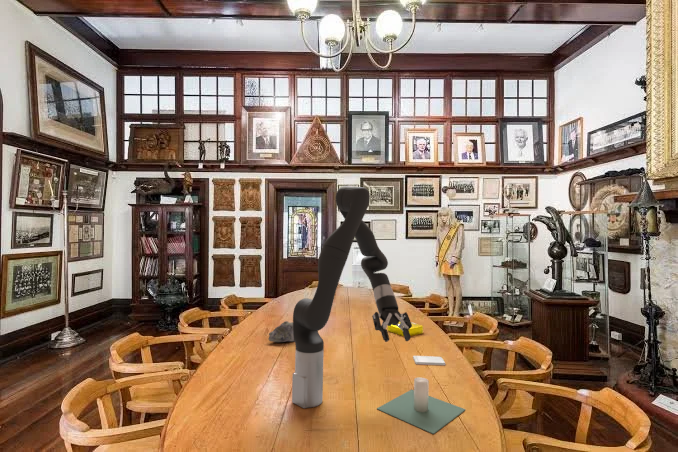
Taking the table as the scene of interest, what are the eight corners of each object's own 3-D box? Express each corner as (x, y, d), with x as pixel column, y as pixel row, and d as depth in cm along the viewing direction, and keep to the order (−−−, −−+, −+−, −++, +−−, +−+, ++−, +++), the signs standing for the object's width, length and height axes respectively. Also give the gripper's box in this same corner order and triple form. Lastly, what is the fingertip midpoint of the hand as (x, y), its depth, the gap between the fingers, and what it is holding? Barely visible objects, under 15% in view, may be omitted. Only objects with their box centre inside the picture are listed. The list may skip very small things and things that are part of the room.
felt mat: (433, 434, 105) (433, 433, 105) (376, 409, 119) (376, 408, 119) (465, 410, 119) (465, 409, 119) (411, 390, 133) (411, 389, 133)
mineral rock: (267, 344, 181) (268, 323, 181) (272, 337, 192) (272, 318, 192) (294, 345, 181) (294, 324, 181) (297, 338, 192) (297, 318, 192)
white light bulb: (423, 413, 116) (423, 384, 116) (410, 408, 119) (411, 380, 119) (430, 408, 119) (431, 380, 119) (418, 403, 122) (419, 376, 122)
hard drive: (441, 356, 166) (412, 355, 167) (445, 362, 158) (415, 361, 159) (441, 360, 166) (412, 358, 167) (445, 366, 158) (415, 365, 159)
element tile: (424, 333, 207) (424, 324, 207) (405, 337, 198) (405, 328, 198) (404, 327, 219) (404, 319, 219) (385, 331, 210) (386, 322, 210)
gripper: (373, 293, 135) (385, 336, 125) (406, 294, 141) (420, 335, 131) (364, 304, 140) (375, 345, 130) (396, 304, 146) (409, 344, 136)
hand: (397, 340), depth 130 cm, fingers open, 8 cm apart
